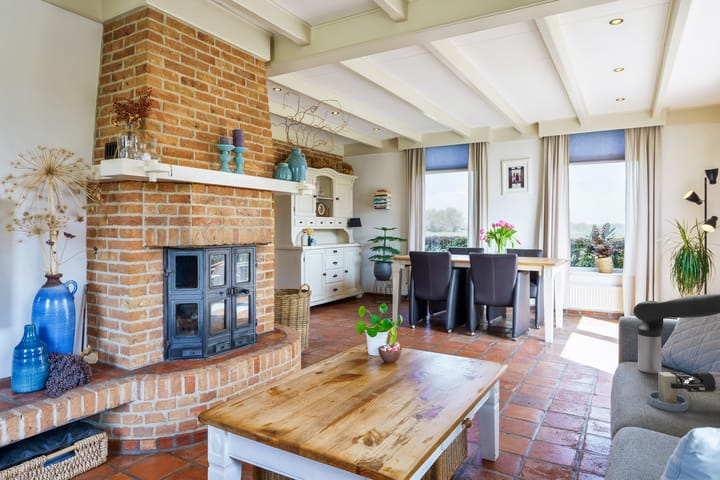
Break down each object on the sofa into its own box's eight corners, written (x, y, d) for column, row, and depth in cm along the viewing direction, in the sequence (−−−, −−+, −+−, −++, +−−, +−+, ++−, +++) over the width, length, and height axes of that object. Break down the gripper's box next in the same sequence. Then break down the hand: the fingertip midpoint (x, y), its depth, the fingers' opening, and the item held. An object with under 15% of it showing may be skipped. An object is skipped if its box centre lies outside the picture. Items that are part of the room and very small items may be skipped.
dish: (641, 396, 177) (641, 390, 177) (675, 397, 176) (675, 391, 176) (658, 410, 165) (658, 404, 164) (695, 411, 163) (695, 405, 163)
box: (677, 404, 167) (676, 376, 167) (664, 404, 168) (664, 376, 167) (669, 399, 173) (669, 371, 172) (657, 398, 173) (657, 371, 173)
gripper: (698, 366, 174) (655, 365, 177) (723, 379, 160) (675, 378, 163) (698, 384, 175) (655, 383, 177) (723, 399, 161) (675, 398, 163)
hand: (665, 381), depth 170 cm, fingers open, 8 cm apart
